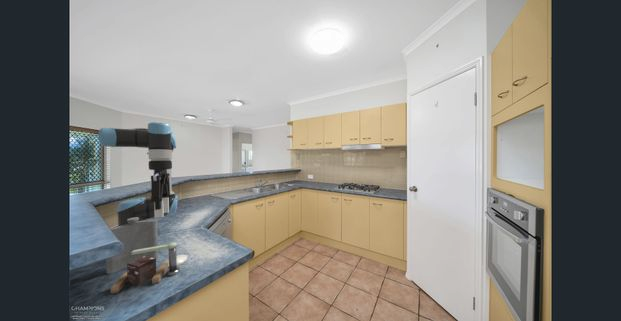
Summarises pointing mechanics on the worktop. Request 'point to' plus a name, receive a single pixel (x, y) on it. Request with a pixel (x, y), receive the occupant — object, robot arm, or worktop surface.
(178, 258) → the trivet
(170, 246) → the bar
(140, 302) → the worktop surface
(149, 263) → the box
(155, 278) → the cradle
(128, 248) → the hip flask
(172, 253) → the latch post
